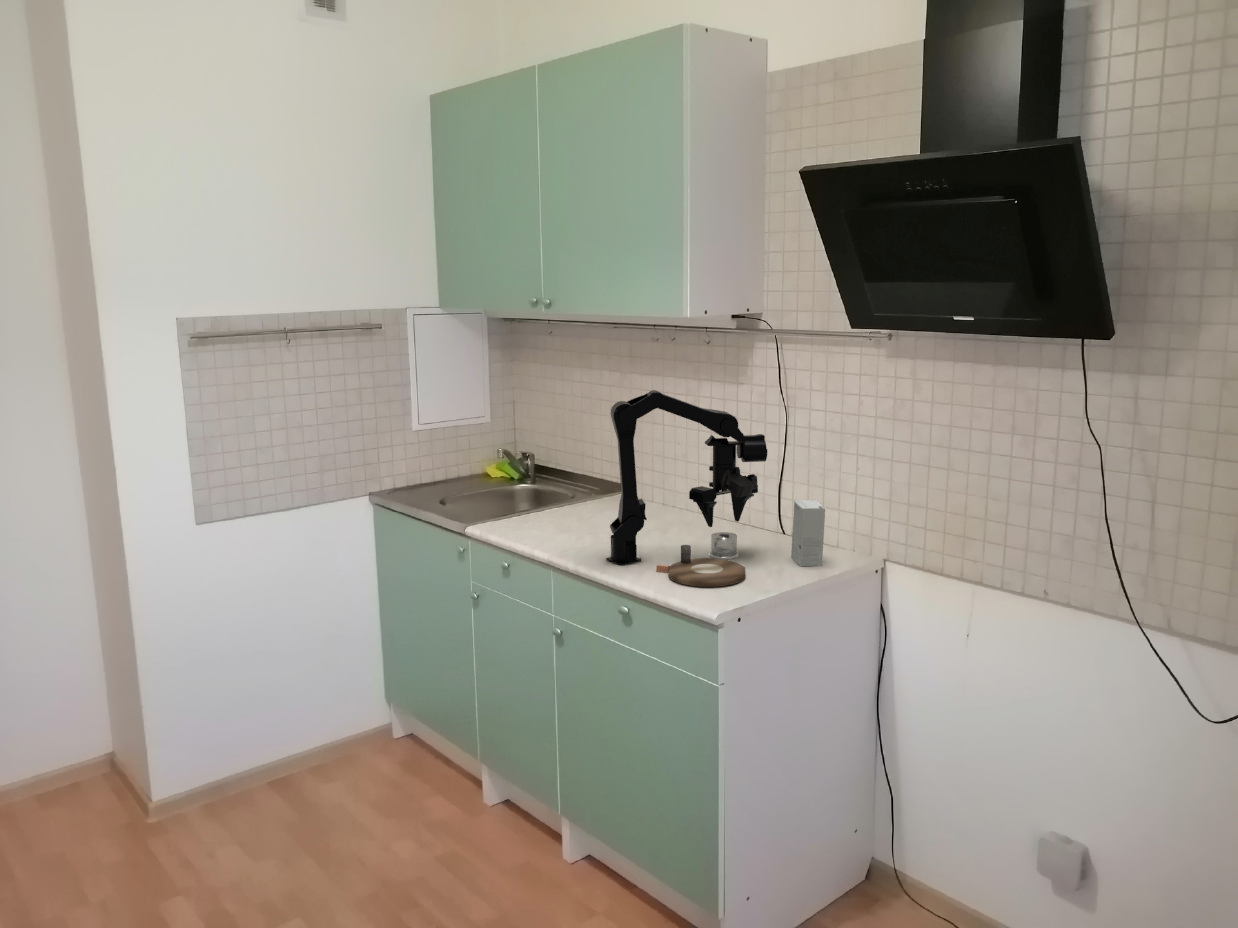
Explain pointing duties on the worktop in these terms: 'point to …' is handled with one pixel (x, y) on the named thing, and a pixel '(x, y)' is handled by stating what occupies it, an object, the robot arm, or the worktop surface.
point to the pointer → (662, 568)
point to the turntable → (705, 571)
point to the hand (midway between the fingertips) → (723, 523)
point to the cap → (724, 546)
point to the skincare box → (808, 532)
